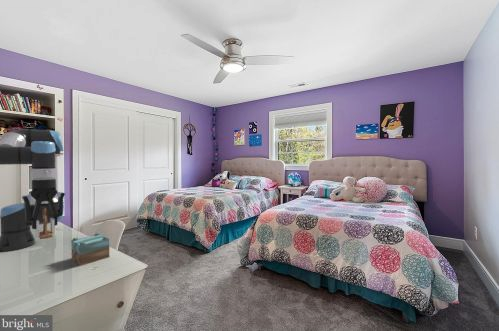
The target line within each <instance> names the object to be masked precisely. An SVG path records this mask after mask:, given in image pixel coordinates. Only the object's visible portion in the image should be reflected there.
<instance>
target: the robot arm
mask: <svg viewBox="0 0 499 331" xmlns="http://www.w3.org/2000/svg"><path fill="white" fill-rule="evenodd" d="M61 152H64V145H63V141H62V134H61V133H60V131H57V130H51V129H49V130H48V129H32V128H30V129H29V128H21V129H20V128H19V129H14V130H10V131H7V132H5V133H3V134H2V135H1V136H0V165H3V166H4V165H31V179H32V180H31V191H30V193H29V194H26V195H22V197H21V199H22V200H23V202H18V203H14V204H10V205H6V206H3V207H2V208H0V252H11V251H17V250H18V251H19V250H21V249H26V248H29V247H31V246H33V245H35V243H36V239H35V237H36V238H39V232H40V225H43V224H44V221H43V207H46V216H47V224H49V225H50V232H51V233H52V235H55V232H56V230H55V229H56V228H55V227H56V226H58V223H60V222H61V221H62V220H63V216H64V209H65V202H64V198H65V195H66V193H65V192H59V188H58V157H60V155H61ZM31 198H33V199H34V200H35V201H34V204H31V201H30V200H31ZM31 229H33V230H34V232H35V237H34V234H33V233H32V232H33V231H32V230H31Z"/></svg>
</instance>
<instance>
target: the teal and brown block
mask: <svg viewBox="0 0 499 331" xmlns="http://www.w3.org/2000/svg"><path fill="white" fill-rule="evenodd" d="M107 258H110V239H109V236H104V235H102V234H101V233H100V232H96V233H95V234H94V235H90V236H85V237H80V238H78V237H74V238H72V240H71V260H73V261H74V262H75V263H77V264H78V265H79V266H84V265H87V264H91V263H94V262H97V261H101V260H104V259H107Z"/></svg>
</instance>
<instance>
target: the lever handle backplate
mask: <svg viewBox="0 0 499 331" xmlns="http://www.w3.org/2000/svg"><path fill="white" fill-rule="evenodd" d="M43 221H44V224H42V225H43V228H42V231H39V237H38V238H39V240H43V239H49V238H53V237H54V234H52V233H51V230H49V229H48V226H47V225H48V223H47V216H46V207H43Z"/></svg>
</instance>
